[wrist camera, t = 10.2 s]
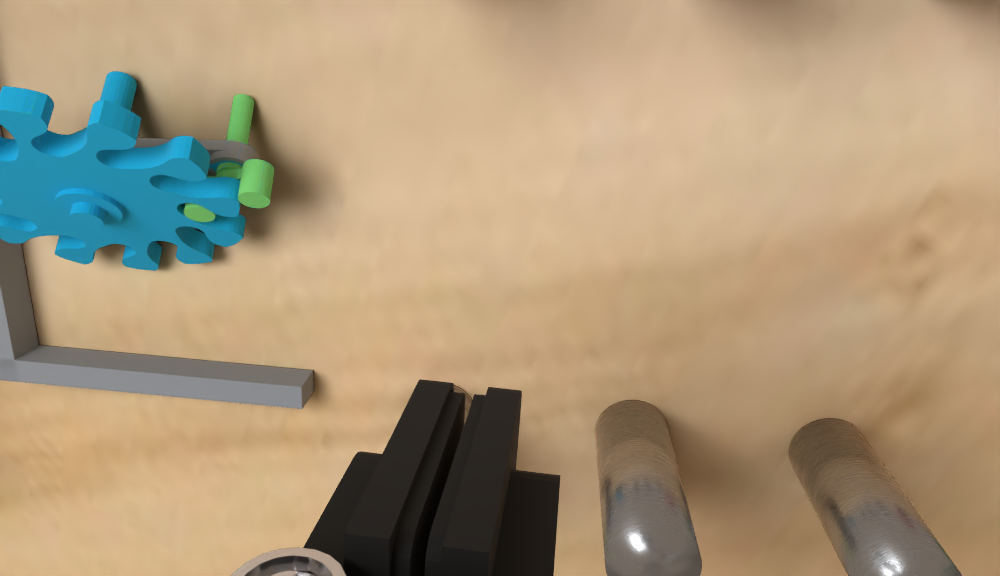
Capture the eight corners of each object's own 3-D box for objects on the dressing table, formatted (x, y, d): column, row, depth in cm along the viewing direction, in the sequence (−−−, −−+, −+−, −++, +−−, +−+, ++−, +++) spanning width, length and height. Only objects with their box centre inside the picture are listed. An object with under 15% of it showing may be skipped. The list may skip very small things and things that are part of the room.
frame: (313, 391, 31) (302, 408, 30) (20, 363, 32) (-5, 379, 31) (298, -79, 25) (283, -84, 24) (-67, -100, 26) (-103, -107, 24)
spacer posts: (855, 484, 31) (949, 635, 23) (405, 441, 32) (357, 571, 24) (1017, -107, 23) (1235, -166, 16) (416, -139, 24) (350, -209, 17)
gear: (10, 281, 29) (-190, 123, 20) (47, 155, 31) (-116, -37, 22) (297, 285, 30) (232, 135, 20) (311, 162, 32) (258, -21, 23)
